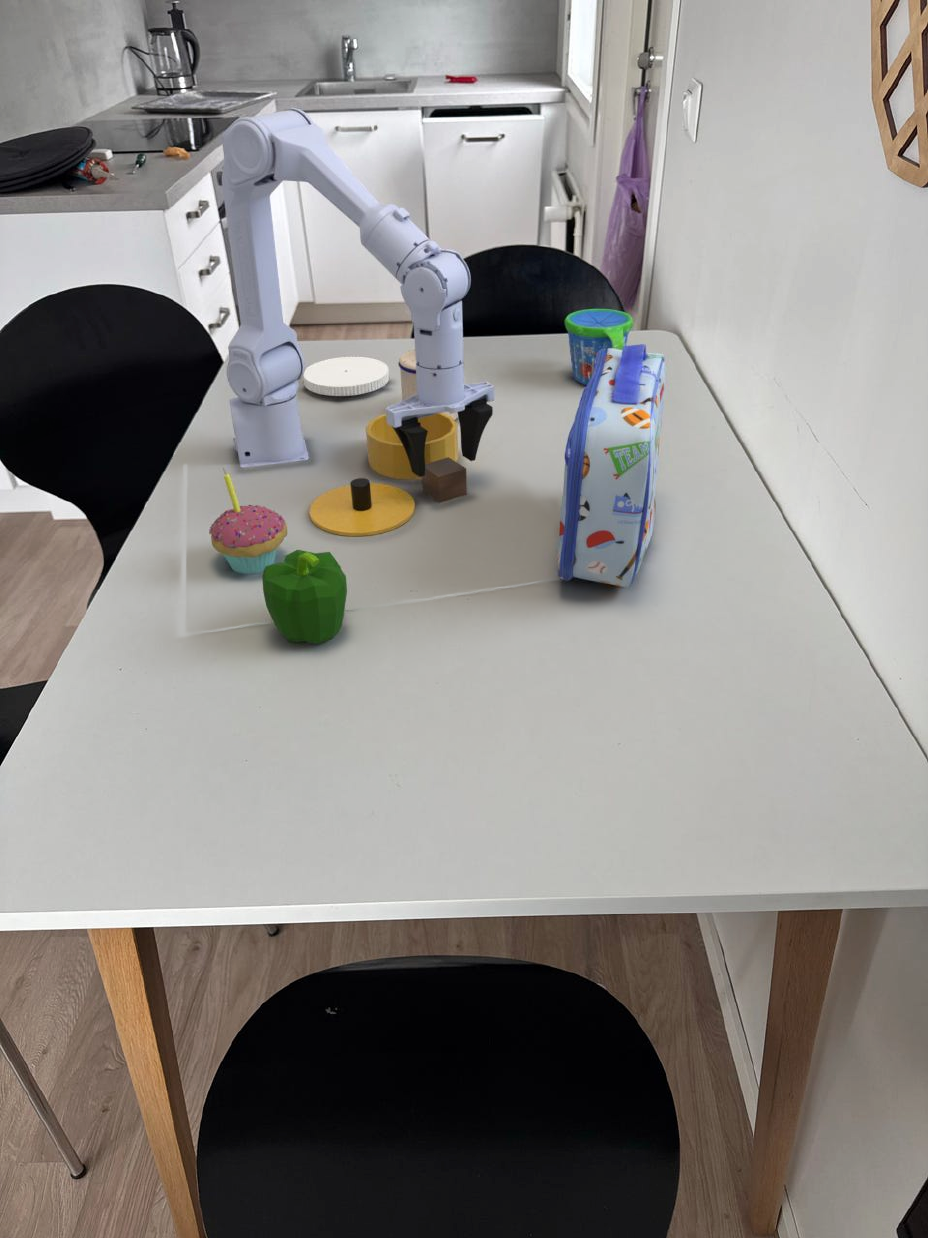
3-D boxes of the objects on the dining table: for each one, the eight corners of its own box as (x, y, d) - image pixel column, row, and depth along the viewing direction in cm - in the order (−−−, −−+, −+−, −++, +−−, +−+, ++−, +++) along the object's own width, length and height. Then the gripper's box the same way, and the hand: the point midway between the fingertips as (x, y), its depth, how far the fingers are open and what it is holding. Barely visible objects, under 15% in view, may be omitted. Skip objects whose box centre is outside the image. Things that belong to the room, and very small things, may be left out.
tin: (377, 487, 125) (374, 450, 122) (363, 450, 135) (360, 414, 132) (466, 476, 128) (465, 439, 125) (446, 440, 137) (445, 405, 134)
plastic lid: (298, 377, 160) (296, 362, 159) (379, 366, 163) (377, 352, 162) (312, 406, 149) (310, 391, 148) (398, 395, 152) (397, 380, 151)
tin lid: (316, 547, 113) (311, 513, 110) (305, 497, 124) (301, 466, 121) (424, 532, 115) (422, 499, 113) (405, 485, 126) (403, 453, 123)
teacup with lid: (463, 426, 141) (461, 349, 135) (402, 429, 141) (397, 352, 134) (457, 396, 151) (455, 323, 145) (400, 399, 151) (395, 326, 144)
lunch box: (576, 487, 124) (584, 319, 112) (656, 493, 122) (674, 322, 110) (548, 602, 102) (555, 408, 90) (646, 611, 100) (667, 414, 88)
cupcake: (201, 574, 108) (181, 479, 101) (248, 541, 114) (232, 449, 108) (261, 592, 105) (244, 495, 98) (306, 557, 111) (293, 463, 104)
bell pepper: (264, 618, 101) (249, 536, 95) (339, 602, 103) (329, 521, 97) (279, 663, 94) (265, 578, 88) (359, 644, 96) (351, 560, 91)
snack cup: (550, 366, 162) (552, 306, 156) (609, 360, 163) (613, 300, 158) (580, 399, 149) (583, 335, 143) (643, 392, 151) (648, 329, 145)
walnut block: (439, 507, 121) (438, 477, 118) (422, 494, 123) (421, 465, 121) (467, 498, 122) (466, 468, 120) (449, 486, 125) (448, 456, 123)
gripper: (404, 384, 107) (411, 492, 114) (508, 357, 113) (508, 461, 121) (373, 366, 112) (382, 471, 119) (475, 342, 118) (477, 443, 126)
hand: (443, 465), depth 120 cm, fingers open, 7 cm apart
